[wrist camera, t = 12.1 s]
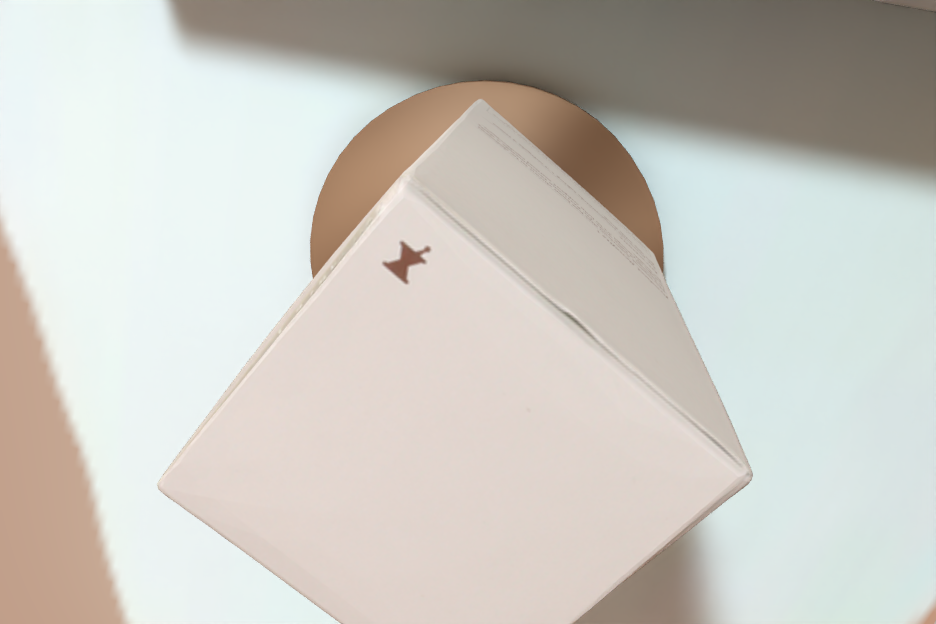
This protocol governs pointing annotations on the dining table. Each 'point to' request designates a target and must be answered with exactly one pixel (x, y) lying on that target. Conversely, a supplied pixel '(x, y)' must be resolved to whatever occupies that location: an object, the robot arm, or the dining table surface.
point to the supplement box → (468, 405)
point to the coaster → (432, 112)
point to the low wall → (913, 3)
